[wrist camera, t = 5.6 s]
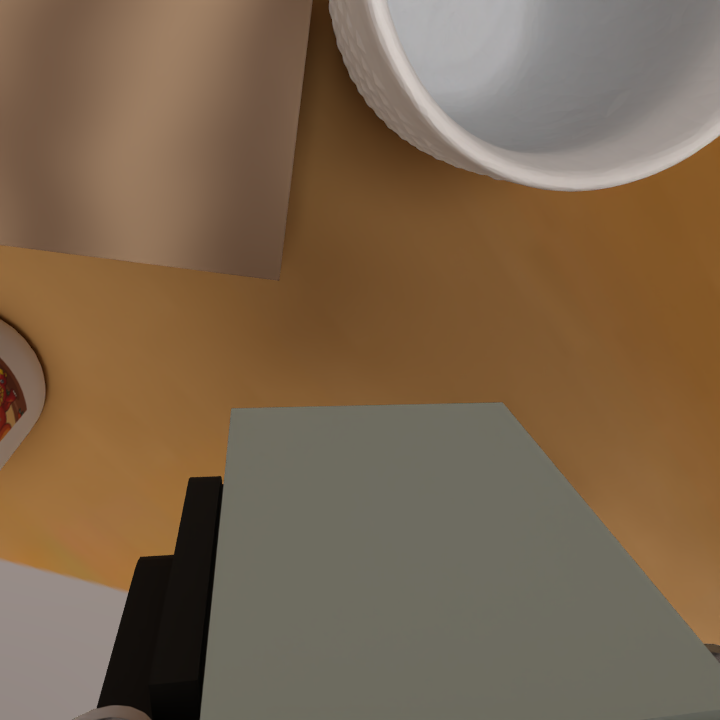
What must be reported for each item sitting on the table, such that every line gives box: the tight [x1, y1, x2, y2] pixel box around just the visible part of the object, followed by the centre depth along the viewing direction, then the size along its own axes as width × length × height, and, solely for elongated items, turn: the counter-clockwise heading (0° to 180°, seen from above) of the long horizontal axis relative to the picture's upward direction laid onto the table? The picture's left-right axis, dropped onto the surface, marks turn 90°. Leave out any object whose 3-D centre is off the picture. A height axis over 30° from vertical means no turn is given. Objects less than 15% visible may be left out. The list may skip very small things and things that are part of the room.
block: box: [200, 402, 720, 720], centre depth 8 cm, size 5×5×6 cm
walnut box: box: [0, 0, 313, 281], centre depth 20 cm, size 14×10×6 cm
